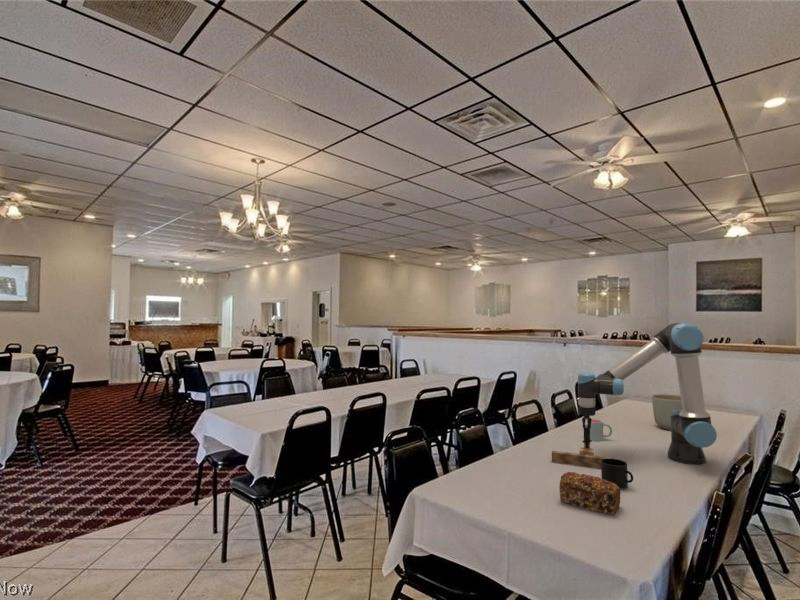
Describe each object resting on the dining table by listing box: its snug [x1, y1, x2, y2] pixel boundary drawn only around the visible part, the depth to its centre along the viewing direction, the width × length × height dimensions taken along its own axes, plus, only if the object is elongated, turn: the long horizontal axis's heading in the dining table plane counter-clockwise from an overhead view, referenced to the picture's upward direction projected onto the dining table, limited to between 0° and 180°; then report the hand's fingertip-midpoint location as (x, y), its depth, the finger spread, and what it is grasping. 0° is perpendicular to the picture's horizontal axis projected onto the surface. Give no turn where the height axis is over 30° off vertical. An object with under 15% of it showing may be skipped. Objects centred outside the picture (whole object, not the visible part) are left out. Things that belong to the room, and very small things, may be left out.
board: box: [551, 450, 615, 470], centre depth 196 cm, size 26×3×5 cm, turn 64°
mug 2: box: [600, 457, 634, 490], centre depth 172 cm, size 9×12×9 cm
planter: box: [651, 393, 682, 432], centre depth 262 cm, size 21×21×19 cm
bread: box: [559, 471, 622, 516], centre depth 155 cm, size 19×11×10 cm, turn 51°
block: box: [578, 446, 595, 456], centre depth 200 cm, size 6×6×6 cm
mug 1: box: [590, 418, 613, 443], centre depth 238 cm, size 14×9×10 cm
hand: (587, 456), depth 204 cm, fingers closed
